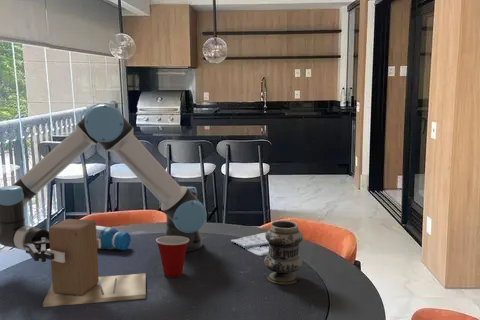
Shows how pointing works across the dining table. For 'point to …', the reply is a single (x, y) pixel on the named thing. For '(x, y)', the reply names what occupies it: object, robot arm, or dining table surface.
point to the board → (103, 291)
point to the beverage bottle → (112, 238)
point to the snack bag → (254, 244)
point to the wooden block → (74, 256)
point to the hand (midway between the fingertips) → (82, 250)
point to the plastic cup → (172, 254)
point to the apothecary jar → (283, 252)
